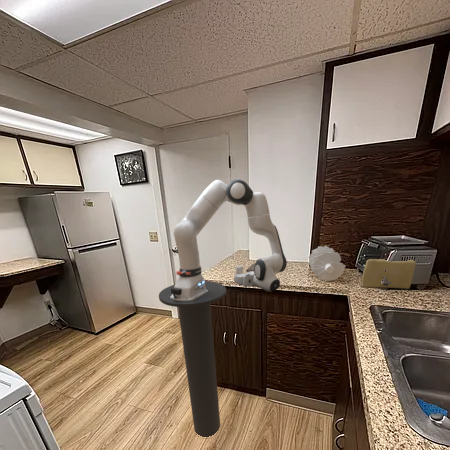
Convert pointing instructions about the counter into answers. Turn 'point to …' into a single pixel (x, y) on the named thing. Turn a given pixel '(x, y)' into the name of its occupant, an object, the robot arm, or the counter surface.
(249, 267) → the board
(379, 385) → the counter surface
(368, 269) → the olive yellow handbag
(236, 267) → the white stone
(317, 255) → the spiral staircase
